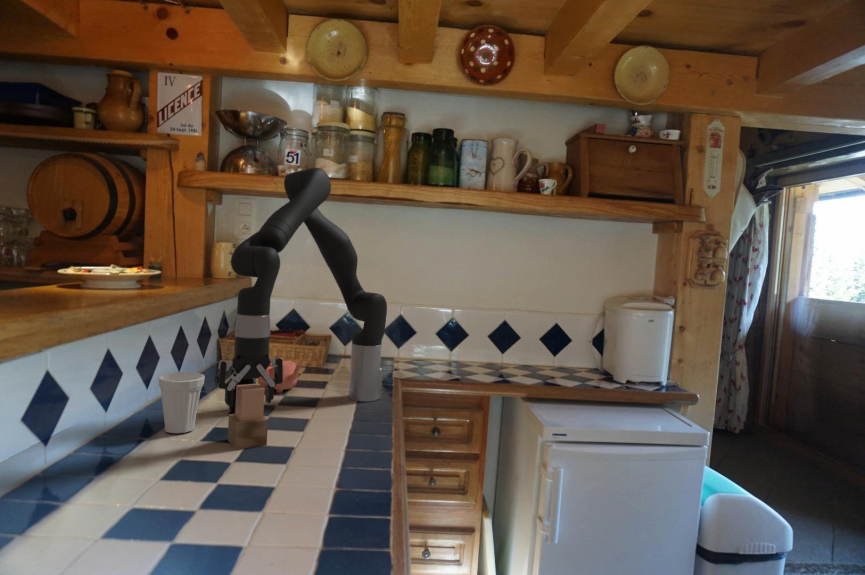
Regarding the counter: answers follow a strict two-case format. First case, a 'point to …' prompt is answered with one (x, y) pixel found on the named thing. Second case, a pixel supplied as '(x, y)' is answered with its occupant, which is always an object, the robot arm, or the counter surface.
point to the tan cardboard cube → (249, 402)
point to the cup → (180, 399)
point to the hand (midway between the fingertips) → (249, 404)
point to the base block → (247, 432)
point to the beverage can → (241, 382)
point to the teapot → (288, 376)
